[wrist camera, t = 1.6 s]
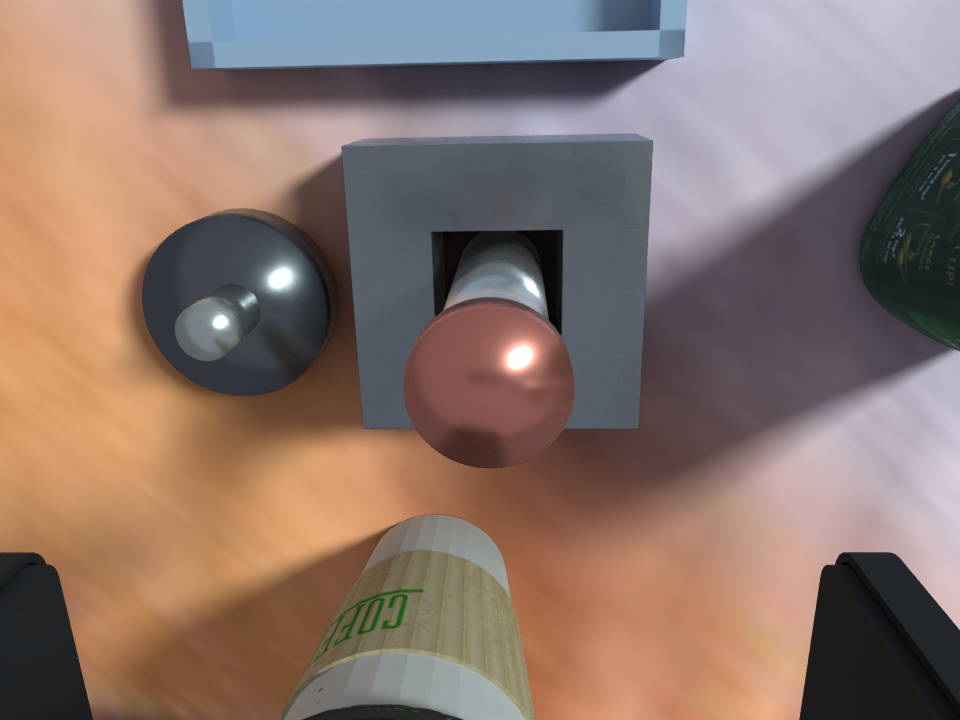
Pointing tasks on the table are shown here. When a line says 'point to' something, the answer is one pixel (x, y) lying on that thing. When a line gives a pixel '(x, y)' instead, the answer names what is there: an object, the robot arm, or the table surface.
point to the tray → (428, 32)
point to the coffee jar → (920, 238)
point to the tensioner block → (502, 207)
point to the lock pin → (491, 361)
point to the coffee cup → (421, 634)
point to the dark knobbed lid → (240, 301)
